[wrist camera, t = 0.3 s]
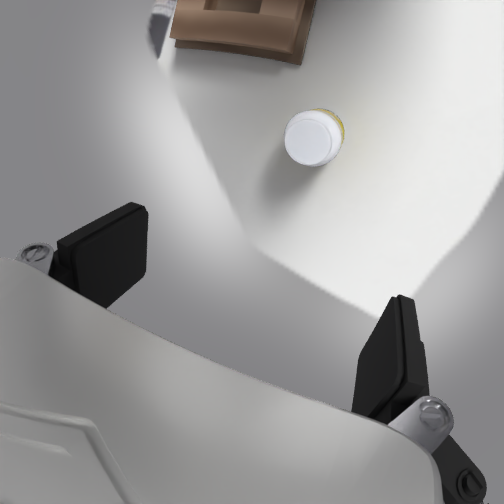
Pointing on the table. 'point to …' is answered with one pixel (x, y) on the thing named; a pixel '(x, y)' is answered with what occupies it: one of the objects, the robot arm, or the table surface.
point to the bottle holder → (245, 27)
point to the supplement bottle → (314, 137)
